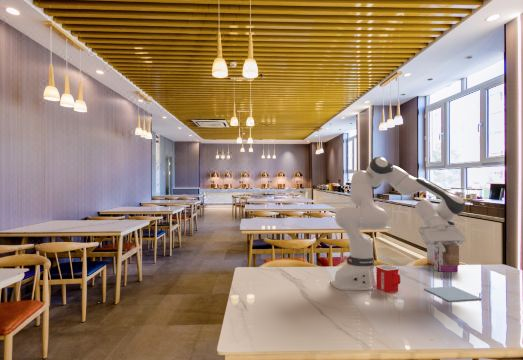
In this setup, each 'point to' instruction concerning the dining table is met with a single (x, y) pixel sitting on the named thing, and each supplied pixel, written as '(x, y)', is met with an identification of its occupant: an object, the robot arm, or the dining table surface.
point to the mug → (387, 278)
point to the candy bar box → (439, 262)
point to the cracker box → (431, 254)
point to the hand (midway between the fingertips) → (451, 251)
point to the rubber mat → (452, 294)
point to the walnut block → (451, 255)
